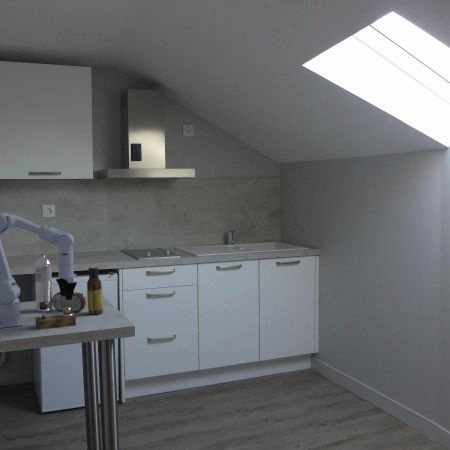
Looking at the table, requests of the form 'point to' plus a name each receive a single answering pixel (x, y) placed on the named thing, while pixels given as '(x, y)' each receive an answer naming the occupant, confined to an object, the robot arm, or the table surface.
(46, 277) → the water bottle
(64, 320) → the stand
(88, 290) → the sauce bottle
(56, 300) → the tin
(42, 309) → the chrome threaded knob
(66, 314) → the copper plunger
